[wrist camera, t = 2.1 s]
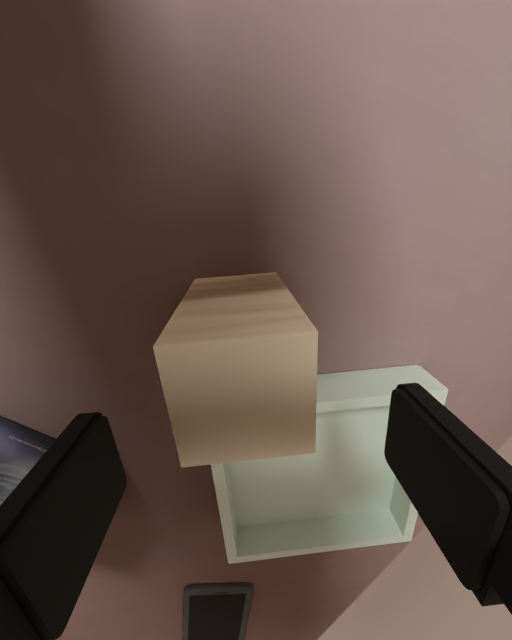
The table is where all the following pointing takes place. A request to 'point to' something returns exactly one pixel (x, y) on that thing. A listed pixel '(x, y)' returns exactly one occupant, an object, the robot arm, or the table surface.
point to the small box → (18, 453)
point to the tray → (324, 477)
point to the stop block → (239, 371)
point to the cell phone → (216, 611)
